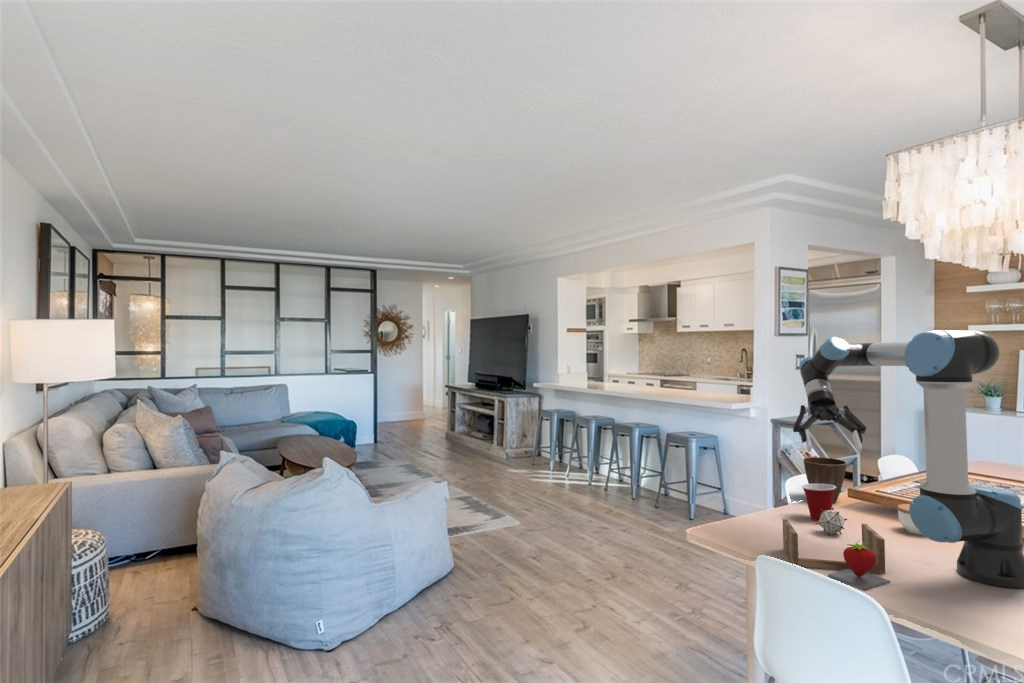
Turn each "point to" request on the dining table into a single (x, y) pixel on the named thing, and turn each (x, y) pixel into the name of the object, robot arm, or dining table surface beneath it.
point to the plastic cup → (819, 498)
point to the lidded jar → (907, 519)
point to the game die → (831, 521)
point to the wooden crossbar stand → (791, 550)
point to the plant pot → (825, 472)
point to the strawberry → (859, 559)
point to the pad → (859, 579)
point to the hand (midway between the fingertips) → (834, 450)
